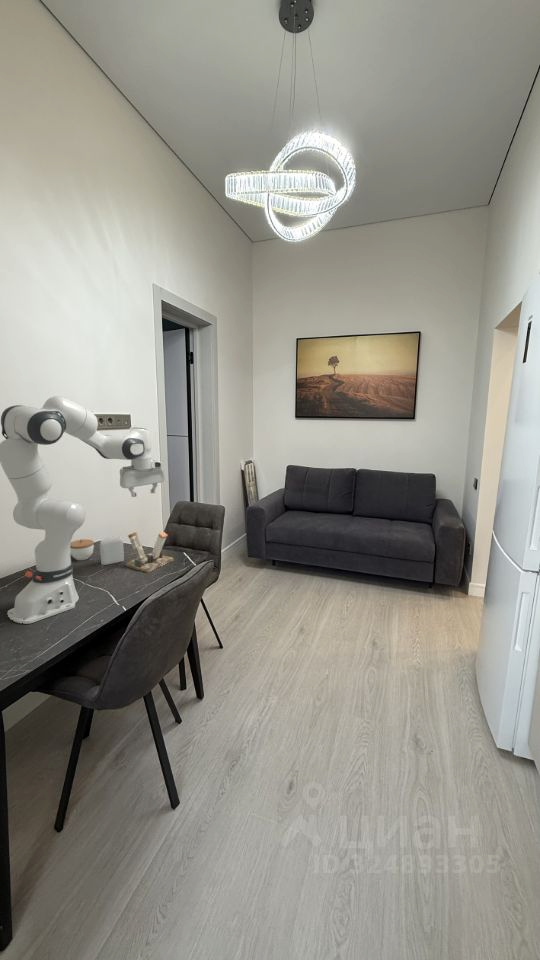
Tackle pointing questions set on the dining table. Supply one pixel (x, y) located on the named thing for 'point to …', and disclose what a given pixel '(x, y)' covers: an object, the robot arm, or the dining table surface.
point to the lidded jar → (81, 549)
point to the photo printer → (111, 550)
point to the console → (145, 557)
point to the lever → (159, 545)
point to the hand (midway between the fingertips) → (143, 494)
